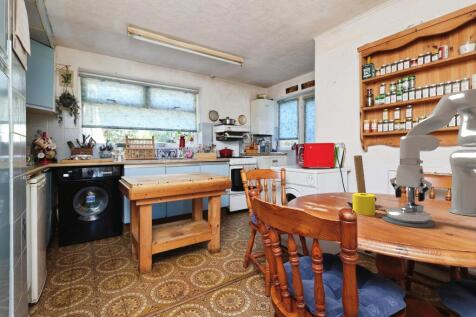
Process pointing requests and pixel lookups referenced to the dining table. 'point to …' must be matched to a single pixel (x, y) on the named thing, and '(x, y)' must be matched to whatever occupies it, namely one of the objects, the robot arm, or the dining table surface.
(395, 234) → the dining table surface
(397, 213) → the grey pot lid
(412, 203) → the steel pin
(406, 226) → the base
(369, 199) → the tape roll
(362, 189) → the hammer
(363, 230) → the dining table surface
